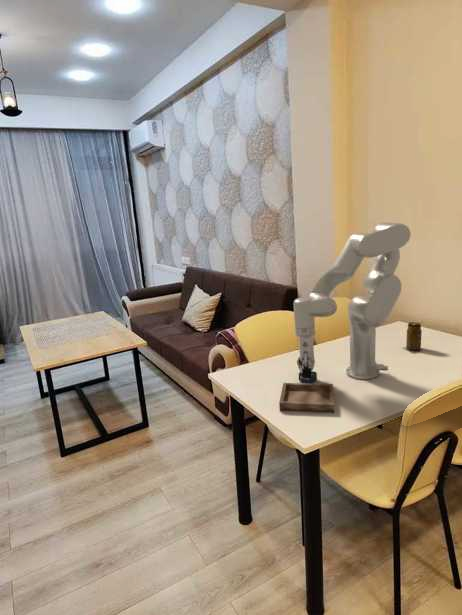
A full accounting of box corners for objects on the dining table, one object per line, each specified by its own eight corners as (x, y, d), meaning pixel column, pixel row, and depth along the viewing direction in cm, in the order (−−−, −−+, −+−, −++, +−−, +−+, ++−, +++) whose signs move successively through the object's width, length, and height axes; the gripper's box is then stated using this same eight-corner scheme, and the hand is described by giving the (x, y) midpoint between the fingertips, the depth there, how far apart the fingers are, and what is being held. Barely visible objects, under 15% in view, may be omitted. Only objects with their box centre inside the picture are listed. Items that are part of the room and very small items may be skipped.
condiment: (415, 345, 189) (416, 320, 186) (427, 351, 181) (428, 325, 178) (401, 347, 188) (402, 322, 185) (413, 353, 180) (414, 327, 177)
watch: (296, 382, 159) (294, 355, 156) (307, 375, 165) (306, 349, 162) (308, 385, 155) (306, 358, 153) (319, 378, 161) (318, 351, 158)
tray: (332, 391, 150) (332, 383, 149) (334, 413, 135) (334, 404, 134) (283, 390, 154) (283, 382, 153) (279, 411, 139) (279, 402, 138)
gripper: (314, 337, 146) (316, 382, 150) (315, 323, 162) (317, 364, 167) (293, 338, 148) (296, 382, 152) (296, 323, 164) (298, 364, 168)
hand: (307, 372), depth 159 cm, fingers closed on watch, 8 cm apart
